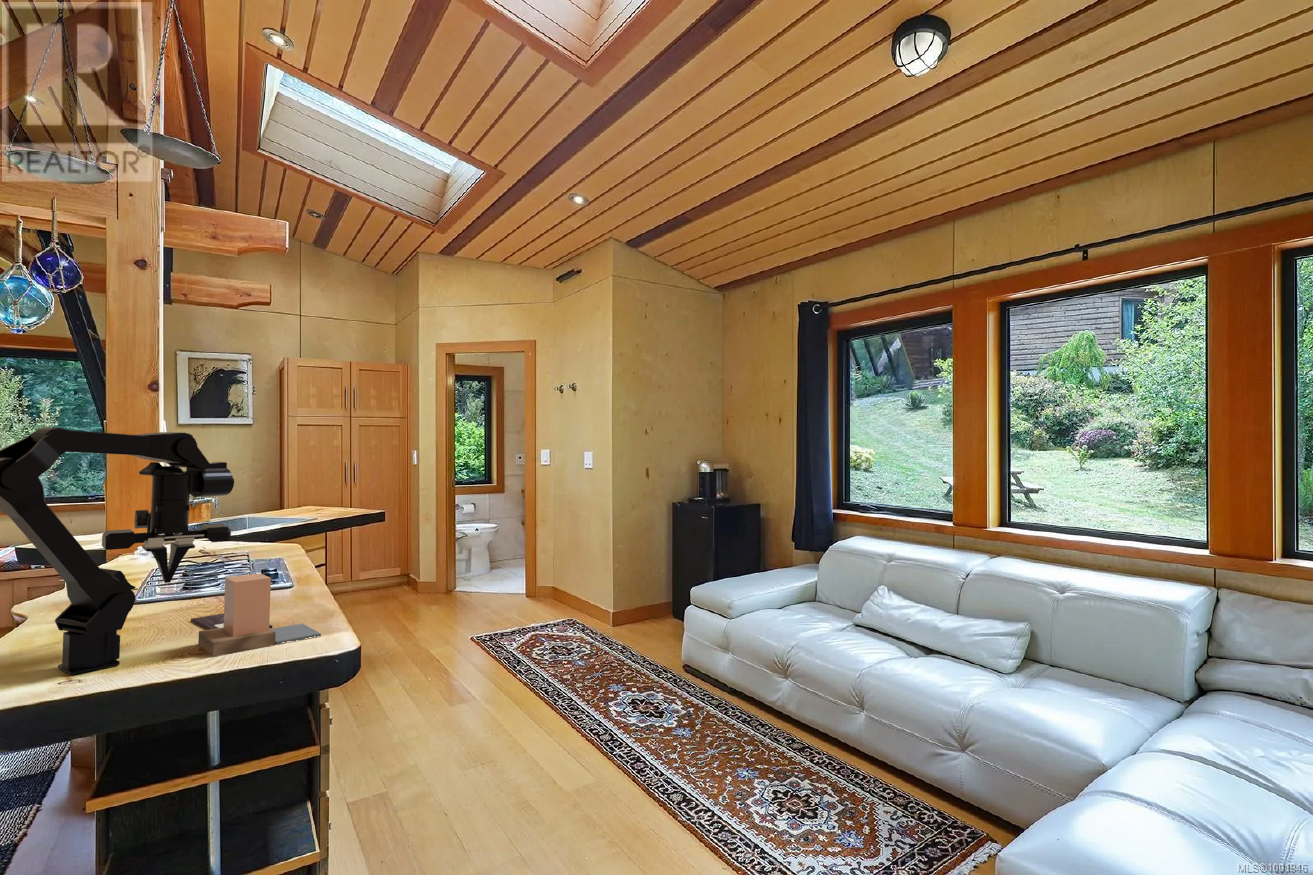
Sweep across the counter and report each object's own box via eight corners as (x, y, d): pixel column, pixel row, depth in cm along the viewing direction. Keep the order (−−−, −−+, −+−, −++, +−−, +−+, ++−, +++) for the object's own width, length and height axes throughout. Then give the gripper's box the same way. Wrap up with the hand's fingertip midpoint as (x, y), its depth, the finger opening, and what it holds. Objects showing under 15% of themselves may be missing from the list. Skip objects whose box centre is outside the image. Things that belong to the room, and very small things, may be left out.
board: (213, 656, 115) (213, 642, 115) (198, 644, 121) (198, 631, 121) (275, 645, 122) (275, 631, 122) (258, 634, 129) (258, 621, 129)
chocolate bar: (238, 610, 144) (272, 625, 133) (238, 615, 144) (272, 630, 133) (190, 618, 137) (222, 635, 126) (190, 623, 137) (222, 639, 126)
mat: (276, 644, 122) (276, 641, 122) (259, 633, 129) (259, 630, 129) (320, 636, 128) (320, 633, 128) (302, 626, 135) (302, 623, 135)
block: (232, 636, 119) (234, 582, 119) (223, 629, 123) (225, 577, 123) (269, 630, 123) (270, 577, 123) (258, 624, 127) (260, 573, 127)
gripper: (219, 494, 133) (215, 569, 132) (100, 497, 119) (96, 581, 119) (233, 498, 125) (229, 579, 125) (107, 502, 111) (103, 592, 111)
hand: (167, 582), depth 120 cm, fingers closed
